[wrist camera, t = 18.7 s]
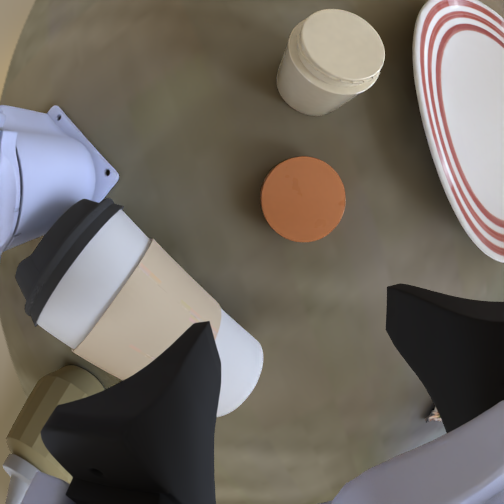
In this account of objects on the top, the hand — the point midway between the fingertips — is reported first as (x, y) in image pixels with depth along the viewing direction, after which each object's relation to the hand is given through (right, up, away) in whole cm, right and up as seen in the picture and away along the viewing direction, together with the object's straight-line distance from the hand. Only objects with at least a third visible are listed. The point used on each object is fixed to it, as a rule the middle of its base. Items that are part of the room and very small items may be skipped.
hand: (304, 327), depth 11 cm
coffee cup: (-4, -6, +9) cm, 11 cm away
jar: (+2, +15, +7) cm, 17 cm away
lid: (+1, +6, +8) cm, 10 cm away
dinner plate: (+23, +16, +7) cm, 29 cm away
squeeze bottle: (-20, -11, +13) cm, 26 cm away
